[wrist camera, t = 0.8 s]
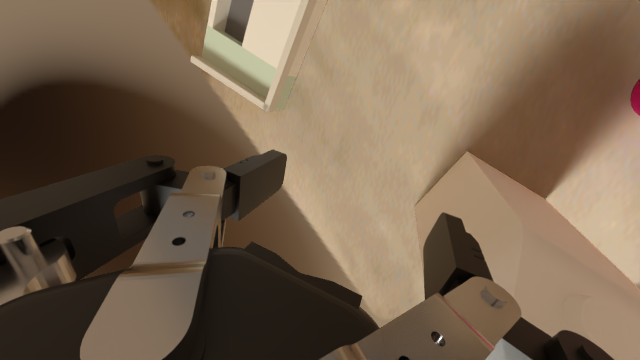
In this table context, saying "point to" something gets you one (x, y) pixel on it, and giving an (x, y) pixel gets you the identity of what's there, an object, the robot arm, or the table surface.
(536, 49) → the table surface
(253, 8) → the tray
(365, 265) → the table surface
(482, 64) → the table surface
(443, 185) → the milk
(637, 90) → the pepper mill
